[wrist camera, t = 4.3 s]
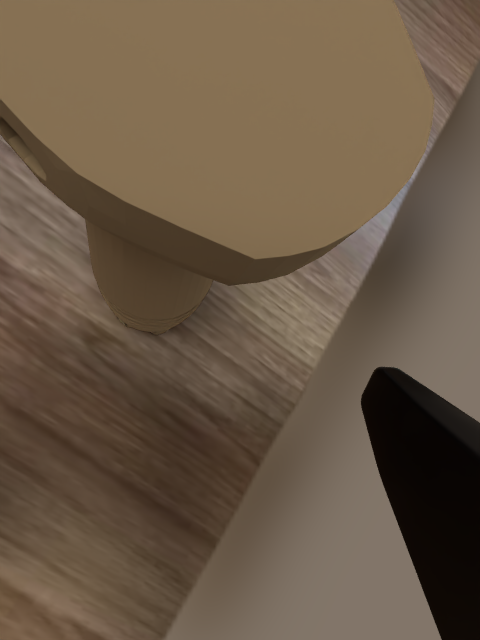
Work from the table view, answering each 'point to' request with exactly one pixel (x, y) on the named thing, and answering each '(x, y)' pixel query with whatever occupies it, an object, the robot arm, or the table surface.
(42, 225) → the table surface
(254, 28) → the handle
